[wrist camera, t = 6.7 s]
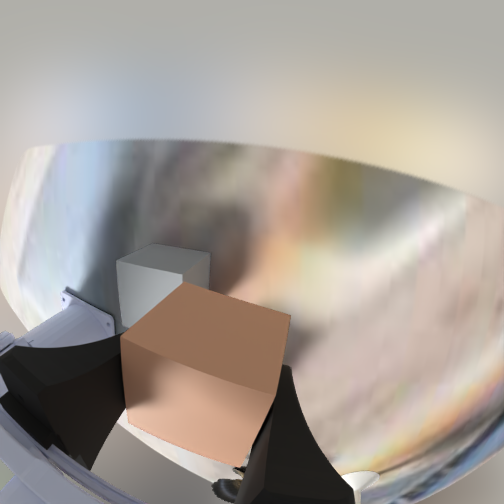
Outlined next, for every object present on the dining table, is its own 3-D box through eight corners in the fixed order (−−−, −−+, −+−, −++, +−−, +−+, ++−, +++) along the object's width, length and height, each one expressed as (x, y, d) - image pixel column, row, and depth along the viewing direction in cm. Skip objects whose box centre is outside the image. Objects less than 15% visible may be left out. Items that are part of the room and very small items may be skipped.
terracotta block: (262, 392, 13) (240, 467, 8) (174, 361, 14) (128, 422, 9) (291, 315, 12) (275, 395, 7) (184, 281, 12) (120, 336, 8)
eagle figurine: (260, 448, 24) (203, 470, 25) (282, 501, 18) (218, 517, 20) (292, 448, 29) (240, 469, 30) (312, 491, 23) (255, 510, 24)
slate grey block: (208, 311, 22) (183, 344, 17) (154, 298, 23) (122, 325, 18) (211, 252, 20) (182, 274, 16) (153, 242, 21) (116, 260, 17)
